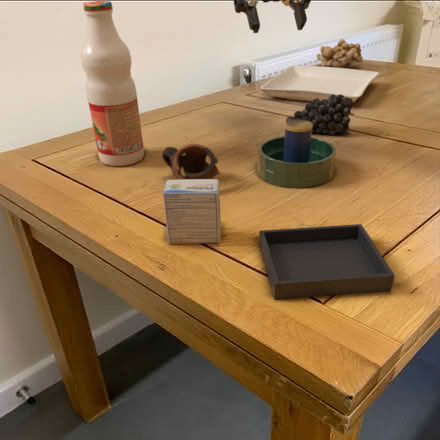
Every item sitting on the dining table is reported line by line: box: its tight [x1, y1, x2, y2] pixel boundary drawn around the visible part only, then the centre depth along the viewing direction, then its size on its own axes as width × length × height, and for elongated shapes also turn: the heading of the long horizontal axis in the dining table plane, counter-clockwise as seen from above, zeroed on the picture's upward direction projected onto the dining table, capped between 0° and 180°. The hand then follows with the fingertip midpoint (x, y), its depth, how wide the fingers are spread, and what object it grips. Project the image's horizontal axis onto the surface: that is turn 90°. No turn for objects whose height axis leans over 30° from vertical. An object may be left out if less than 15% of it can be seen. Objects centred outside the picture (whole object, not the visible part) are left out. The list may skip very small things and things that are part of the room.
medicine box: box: [162, 178, 222, 245], centre depth 69 cm, size 8×4×9 cm, turn 88°
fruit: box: [285, 94, 356, 136], centre depth 105 cm, size 9×8×15 cm
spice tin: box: [283, 120, 313, 163], centre depth 86 cm, size 5×5×9 cm
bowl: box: [257, 135, 337, 189], centre depth 88 cm, size 14×14×5 cm
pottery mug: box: [161, 143, 221, 180], centre depth 86 cm, size 12×10×8 cm
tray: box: [258, 223, 395, 300], centre depth 64 cm, size 15×13×2 cm
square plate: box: [259, 65, 380, 103], centre depth 132 cm, size 27×27×4 cm
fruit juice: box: [80, 0, 145, 167], centre depth 89 cm, size 9×9×28 cm
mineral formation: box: [316, 38, 364, 68], centre depth 154 cm, size 8×13×15 cm
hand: (279, 28), depth 84 cm, fingers open, 8 cm apart
